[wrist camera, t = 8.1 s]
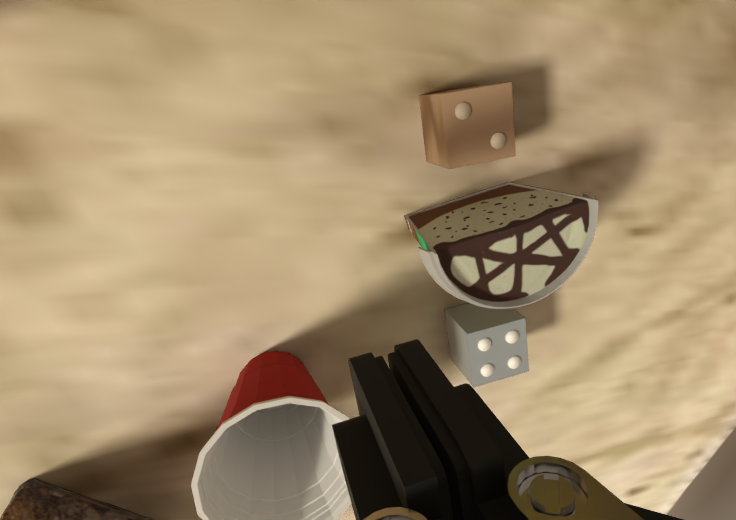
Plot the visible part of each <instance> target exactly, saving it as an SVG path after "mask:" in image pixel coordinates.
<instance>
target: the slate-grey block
mask: <svg viewBox="0 0 736 520" xmlns="http://www.w3.org/2000/svg"><path fill="white" fill-rule="evenodd" d="M444 311H445V319H446V326H447V334H448V341H449V349H450V356H451V359H452V361H453V362H454V363H455V364H456V366H457V367H458V368H459V370H460V371H461V372H462V373H463V375H464V376H465V377H466V379H467V380H468V381H469V382H470V384H471V385H472V386H473V387H477V386H481V385H484V384H487V383H491V382H494V381H497V380H501V379H504V378H508V377H511V376H514V375H518V374H521V373H525V372H528V371H529V363H528V349H527V335H526V321H525V318H524V317H523V316H522V315H521V314H519V313H518V312H517V311H516V310H514V309H513V308H508V309H493V308H485V307H480V306H476V305H474V304H471V303H467V304H463V305H460V306H456V307H452V308H448V309H444Z"/></svg>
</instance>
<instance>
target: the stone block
mask: <svg viewBox="0 0 736 520" xmlns="http://www.w3.org/2000/svg"><path fill="white" fill-rule="evenodd" d="M0 520H152V519H150V518H146V517H143V516H140V515H137V514H135V513H132V512H130V511H127V510H124V509H122V508H119V507H116V506H113V505H110V504H106V503H103V502H100V501H97V500H94V499H91V498H88V497H85V496H82V495H78V494H75V493H73V492H70V491H66V490H64V489H61V488H59V487H55V486H51V485H48V484H46V483H44V482H41V481H39V480H37V479H35V478H34V479H32V480H28V481H26V482H24V483H23V484H22V485H20V486H19V488H18V489H17V490H16V491H15V493H14V495H13V497H12V499H11V501H10V503H9V505H8V506H7V508H6V509H5V511H4V513H3V514H2V516H1V518H0Z"/></svg>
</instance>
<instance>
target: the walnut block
mask: <svg viewBox="0 0 736 520" xmlns="http://www.w3.org/2000/svg"><path fill="white" fill-rule="evenodd" d="M419 100H420V109H421V118H422V126H423V135H424V144H425V152H426V161H427V162H429V163H432V164H435V165H438V166H442V167H445V168H448V169H453V168H458V167H463V166H468V165H473V164H478V163H483V162H488V161H493V160H498V159H503V158H508V157H513V156H516V153H515V135H514V116H513V97H512V82H507V83H496V84H486V85H478V86H472V87H466V88H460V89H454V90H449V91H443V92H437V93H431V94H426V95H420V96H419Z"/></svg>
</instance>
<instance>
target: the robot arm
mask: <svg viewBox="0 0 736 520" xmlns="http://www.w3.org/2000/svg"><path fill="white" fill-rule="evenodd" d="M394 350H395V352H393V353H390V354H388V361H389V367H390V369H389V368H388V366H387V364H386V362H385V360H384V359H383V357H382V356H379V357H376V358H374V356H373V354H372V353H371V352H370V353H367V354H363V355H360V356H356V357H353V358H349V366H350V371H351V376H352V381H353V386H354V390H355V395H356V400H357V405H358V409H359V414H360V416H358V417H355V418H352V419H349V420H345V421H342V422H339V423H336V424H332V428H333V433H334V437H335V441H336V445H337V450H338V454H339V458H340V462H341V466H342V470H343V474H344V477H345V481H346V485H347V489H348V492H349V496H350V499H351V503H352V507H353V510H354V514H355V517H356V520H683V519H679V518H676V517H672V516H669V515H665V514H661V513H658V512H654V511H651V510H647V509H643V508H640V507H636V506H633V505H629V504H626V503H623V502H622V501H621V500H620V499H619V498H617V497H616V496H615V495H614V494H613V493H611V492H610V491H609V490H608V489H607V488H605V487H604V486H603V485H602V484H601V483H599V482H598V481H597V480H596V479H595V478H593V477H592V476H591V475H590V474H589V473H588V472H586V471H585V470H584V469H582V468H581V467H579V466H578V465H576V464H575V463H573V462H570V461H567V460H565V459H562V458H558V457H551V456H538V457H532V458H529V457H528V456H527V454H526V453H525V452H524V451H523V450H522V448H521V447H520V446H519V445H518V443H517V442H516V441H515V440H514V438H513V437H512V436H511V435H510V433H509V432H508V431H507V430H506V428H505V427H504V426H503V425H502V424H501V422H500V421H499V420H498V419H497V417H496V416H495V415H494V414H493V412H492V411H491V410H490V409H489V407H488V406H487V405H486V404H485V403H484V401H483V400H482V399H481V398H480V396H479V395H478V394H477V393H476V391H475V390H474V389H473V388H472V387H471V386H470V385H469V384H463V385H459V386H456V387H453V386H452V384H451V383H450V382H449V380H448V379H447V377H446V376H445V375H444V373H443V372H442V371H441V369H440V368H439V367H438V365H437V364H436V363H435V361H434V360H433V359H432V357H431V356H430V355H429V353H428V352H427V351H426V349H425V348H424V347H423V345H422V344H421V343H420V341H419V340H417V339H416V340H413V341H409V342H406V343H402V344H399V345H395V347H394Z"/></svg>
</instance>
